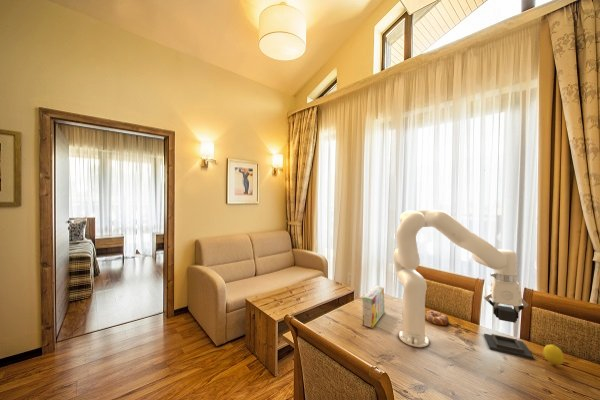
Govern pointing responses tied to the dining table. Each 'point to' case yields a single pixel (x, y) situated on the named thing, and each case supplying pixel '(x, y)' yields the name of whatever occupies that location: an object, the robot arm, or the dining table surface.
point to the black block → (506, 314)
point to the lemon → (553, 354)
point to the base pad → (508, 345)
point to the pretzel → (436, 318)
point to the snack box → (373, 306)
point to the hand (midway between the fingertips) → (505, 317)
